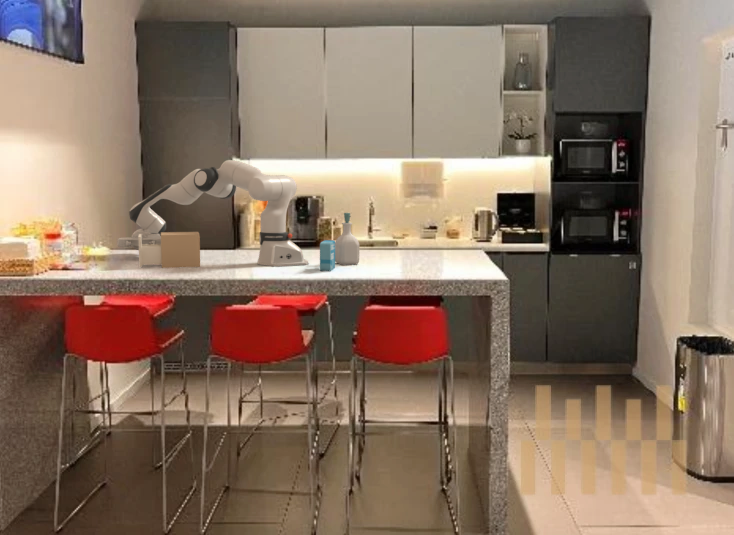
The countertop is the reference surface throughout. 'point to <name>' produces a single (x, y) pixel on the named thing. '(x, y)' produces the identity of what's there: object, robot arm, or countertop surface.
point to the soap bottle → (347, 245)
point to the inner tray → (149, 253)
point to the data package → (327, 255)
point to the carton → (180, 249)
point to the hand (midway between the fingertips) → (140, 244)
